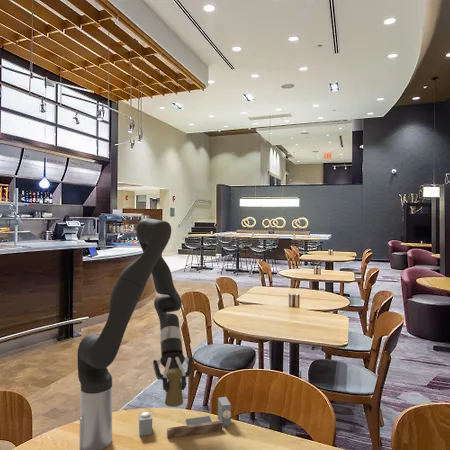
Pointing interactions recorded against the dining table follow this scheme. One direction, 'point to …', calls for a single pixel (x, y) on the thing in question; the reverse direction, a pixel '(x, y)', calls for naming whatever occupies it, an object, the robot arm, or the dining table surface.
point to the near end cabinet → (145, 423)
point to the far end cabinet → (224, 411)
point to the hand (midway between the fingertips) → (175, 389)
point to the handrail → (194, 429)
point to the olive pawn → (174, 388)
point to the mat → (198, 420)
